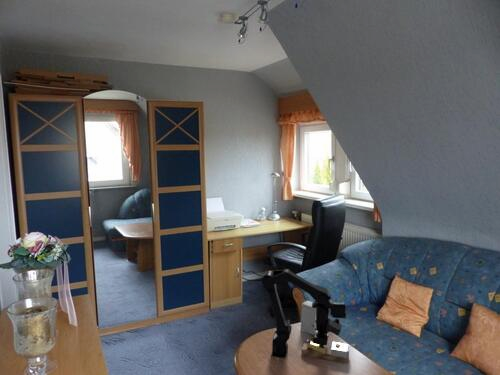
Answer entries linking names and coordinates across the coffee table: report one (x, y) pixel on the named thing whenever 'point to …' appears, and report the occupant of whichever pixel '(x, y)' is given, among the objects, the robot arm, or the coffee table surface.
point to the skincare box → (308, 318)
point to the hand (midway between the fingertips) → (322, 347)
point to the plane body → (323, 355)
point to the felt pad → (328, 345)
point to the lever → (316, 346)
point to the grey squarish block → (339, 349)
